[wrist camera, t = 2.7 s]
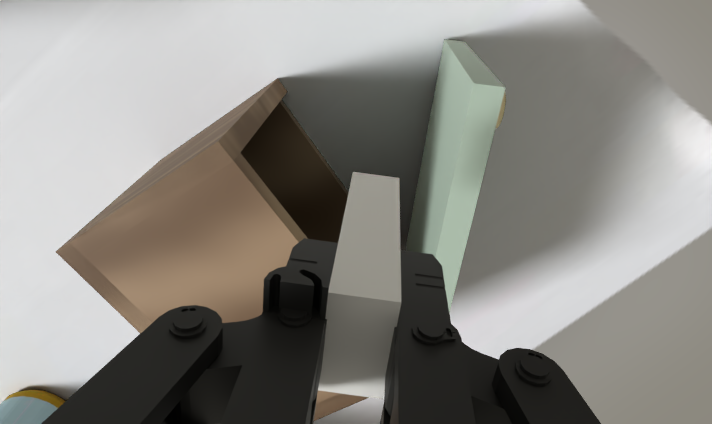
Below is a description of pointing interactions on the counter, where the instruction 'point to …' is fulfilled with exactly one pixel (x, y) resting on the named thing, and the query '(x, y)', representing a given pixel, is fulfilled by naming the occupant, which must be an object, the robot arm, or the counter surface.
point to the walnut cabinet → (215, 221)
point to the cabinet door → (454, 157)
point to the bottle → (29, 407)
